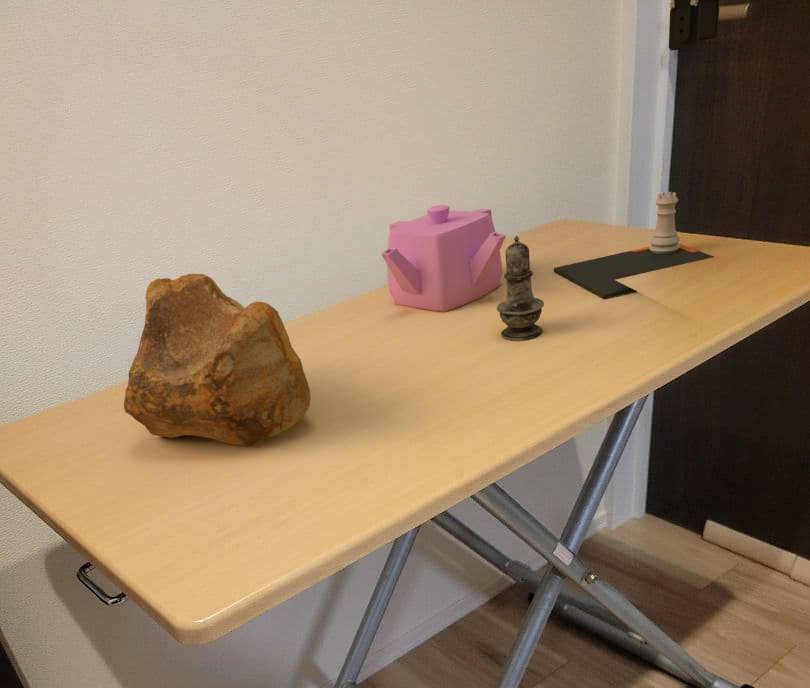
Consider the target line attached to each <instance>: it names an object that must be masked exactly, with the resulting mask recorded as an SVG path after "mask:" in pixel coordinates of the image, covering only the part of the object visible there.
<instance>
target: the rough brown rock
mask: <svg viewBox="0 0 810 688" xmlns="http://www.w3.org/2000/svg"><path fill="white" fill-rule="evenodd" d="M144 299H145V318H144V326H143V329H142V332H141V336H140V340H139V343H138V349H137V352H136V354H135V356H134V358H133V360H132V363H131V366H130V368H129V370H128V381H127V386H126V388H125V393H124V399H123V409H124V412H125V413H126V414H128V415H129V416H131V417H132V418H133V419H134V420H135V421H136V422H138V423H140V424H141V425H143V426H144V427H145V428H146V430H147V431H148V432H149V433H150V434H152V436H156V437H157V436H158V437H163V438H176V437H180V436H181V437H182V436H195V437H201V438H206V439H212V440H215V441H218V442H221V443H225V444H231V445H237V446H251V447H252V446H254V445H255V444H256V443H257V442H258V441H259V440H260V439H261V438H272V437H275V436H277V435H279V434H281V433H282V432H285V431H286V430H288V429H290V428H291V427H292V426H294V425H295V424H297V423H299V422H300V420H302V418H303V417H304V416H305V414H306V413H307V411H308V410H309V408H310V407H311V400H312V399H311V390H310V385H309V382H308V380H307V378H306V373H305V371H304V366H303V363H302V360H301V358H300V357H299V355H298V353H297V352H296V351H295V349H294V348H293V346H292V343H291V341H290V336H289V334H288V332H287V330H286V326H285V325H284V323H283V320H282V318H281V315H280V314H279V311H278V310H277V309H275V308H274V307H273V306H272V305H271V304H270V303H267V302H263V301H260V300H259V301H253V302H251V303H249V304H248V305H247V306H245V307H244V306H243V305H242V304H241V302H238V301H237V300H235V299H233V298H231V297H230V296H229V295H228V296H227V294H225V293H224V292H223V290H222V289H221V288H220V287H219V286H218V284H217V283H216V282H215V280H214V279H213V278H212V277H210V276H208V275H206V274H204V273H188V274H184V275H180V276H179V277H178V278H176V279H173V280H172V279H171V278H169V277H165V278H156V279H154V280H152V281H150V283H149V284H148V286H147V288H146V291H145V298H144Z"/></svg>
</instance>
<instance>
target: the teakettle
mask: <svg viewBox="0 0 810 688" xmlns="http://www.w3.org/2000/svg"><path fill="white" fill-rule="evenodd" d="M388 227H389V231H388V236H387V237H388V238H387V249H386V250H384V251H382V252H381V253H380V254H381V256H382V258H383V260H384V262H385V264H386V269H387V270H386V271H387V272H386V273H387V286H388V291H389V294H390V296H391V298H392V300H393V303H394V304H396V305H399V306H403V307H408V308H414V309H420V310H427V311H433V312H441V313H442V312H443V313H444V312H449V311H452V310H454V309H455V310H456V309H457V308H460V307H462V306H465V305H468V304H469V303H472V302H474V301H476V300H478V299H480V298H483V297H484V296H486V295H488V294H489V293H491V292H492V291H494V290H496V289H498V287H499V286H500V285H501V281H502V275H503V264H502V255H501V249H502V246H503V244H504V242H505V239H506V234H503V233H500V232H498V231H496V229H495V225H494V222H493V217H492V209H487V208H478V209H475V210H472V211H464V210H450V205H447V204H439V205H433V206H431V207H428V208H427V209H426V214H425V215H423V216H419V217H416V218H414V219H411V220H408V221H407V220H398V221H395V222H393V223H390V224H388Z"/></svg>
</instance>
